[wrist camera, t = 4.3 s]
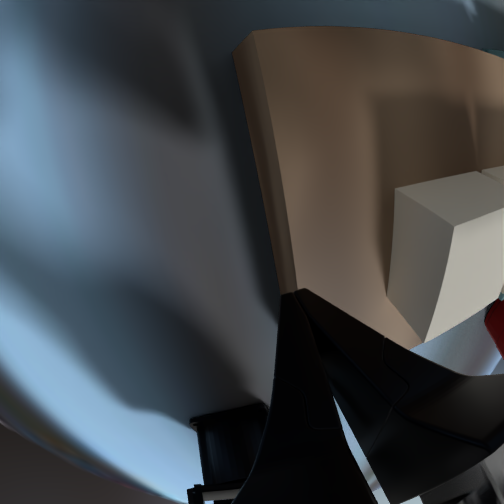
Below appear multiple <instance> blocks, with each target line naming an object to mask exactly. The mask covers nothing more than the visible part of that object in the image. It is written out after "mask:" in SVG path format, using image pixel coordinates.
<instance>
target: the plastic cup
mask: <svg viewBox="0 0 504 504" xmlns="http://www.w3.org/2000/svg"><path fill="white" fill-rule="evenodd" d="M485 326H486V327H487V331H488V332H489V334H490V335H491V337H492V339H493V340H494V342H495V344H496V347H497V349H498V350H499V352H500V354H501V356H502V357H503V359H504V300H502V301H501V300H500V299H499V298H498V299H497V300H496V301H495V303H494V304H493V306H492V307H491V309H490V310H489V312H488V314H487V316H486V319H485Z"/></svg>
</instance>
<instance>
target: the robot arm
mask: <svg viewBox="0 0 504 504" xmlns="http://www.w3.org/2000/svg"><path fill="white" fill-rule="evenodd" d="M333 396H334V398H335V400H336V402H337V404H338V405H339V407H340V409H341V411H342V413H343V415H344V417H345V419H346V421H347V422H348V424H349V426H350V428H351V430H352V432H353V434H354V436H355V438H356V440H357V441H358V443H359V445H360V447H361V449H362V451H363V453H364V455H365V457H367V458H366V459H367V461H368V462H369V464H370V466H371V468H372V470H373V472H374V474H375V476H376V478H377V480H378V482H379V483H380V485H381V487H382V489H383V491H384V493H385V495H386V497H387V499H388V501H389V502H390V504H400V503H403V502H405V501H407V500H410V499H412V498H414V497H417V496H420V498H421V500H422V503H423V504H504V374H496V375H484V376H469V375H464V374H460V373H457V372H455V371H453V370H450V369H448V368H446V367H444V366H441V365H439V364H437V363H435V362H433V361H430V360H428V359H426V358H424V357H422V356H420V355H418V354H416V353H414V352H411V351H409V350H408V349H406V348H404V347H402V346H401V345H399V344H397V343H395V342H394V341H392V340H390V339H389V338H387V337H385V336H384V335H382V334H380V333H379V332H377V331H375V330H374V329H372V328H371V327H369V326H367V325H366V324H364V323H362V322H361V321H359V320H358V319H356V318H354V317H353V316H351V315H349V314H348V313H346V312H344V311H343V310H341V309H340V308H338V307H336V306H335V305H333V304H331V303H330V302H328V301H327V300H325V299H323V298H322V297H320V296H318V295H317V294H315V293H313V292H312V291H310V290H309V289H307V288H302V289H298V290H295V291H294V292H288V293H285V294H282V295H281V296H280V305H279V319H278V333H277V346H276V358H275V370H274V379H273V390H272V397H271V404H270V409H269V413H268V411H267V409H266V406H265V404H257V405H253V406H249V407H245V408H241V409H237V410H232V411H228V412H223V413H219V414H214V415H209V416H204V417H198V418H193V419H190V420H189V424H190V426H191V427H192V428H193V429H194V430H195V431H196V432H197V436H198V444H199V452H200V460H201V467H202V473H203V480H204V485H201V484H195V485H194V488H191V489H187V495H188V503H189V504H205V501H211V500H214V504H378V502H377V500H376V499H375V497H374V495H373V493H372V491H371V489H370V487H369V485H368V483H367V481H366V479H365V477H364V475H363V474H362V472H361V470H360V468H359V466H358V464H357V462H356V460H355V458H354V456H353V454H352V452H351V450H350V448H349V446H348V443H347V441H346V438H345V435H344V431H343V428H342V424H341V421H340V417H339V414H338V411H337V407H336V404H335V401H334V398H333ZM233 498H234V499H233ZM223 499H224V500H223Z"/></svg>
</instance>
